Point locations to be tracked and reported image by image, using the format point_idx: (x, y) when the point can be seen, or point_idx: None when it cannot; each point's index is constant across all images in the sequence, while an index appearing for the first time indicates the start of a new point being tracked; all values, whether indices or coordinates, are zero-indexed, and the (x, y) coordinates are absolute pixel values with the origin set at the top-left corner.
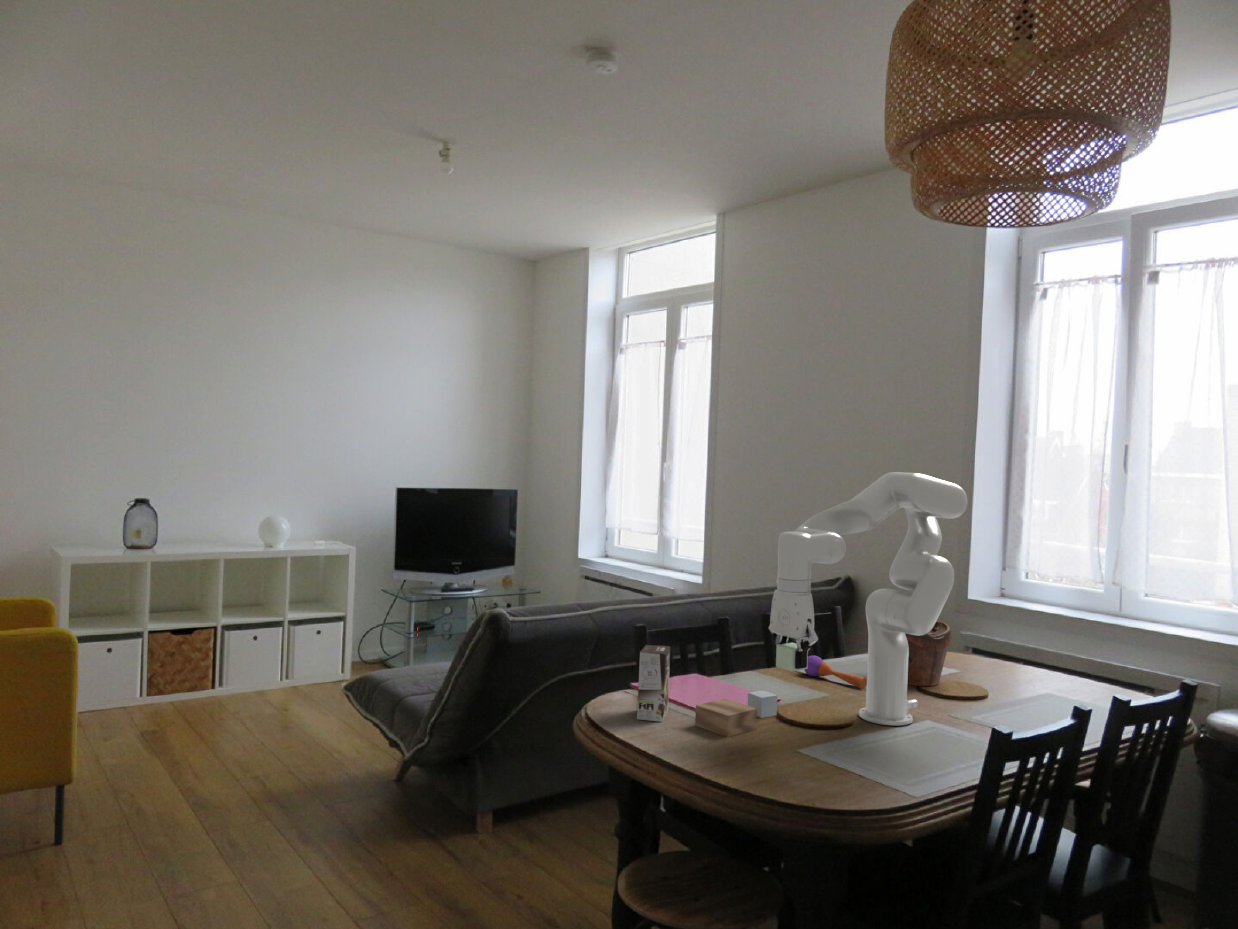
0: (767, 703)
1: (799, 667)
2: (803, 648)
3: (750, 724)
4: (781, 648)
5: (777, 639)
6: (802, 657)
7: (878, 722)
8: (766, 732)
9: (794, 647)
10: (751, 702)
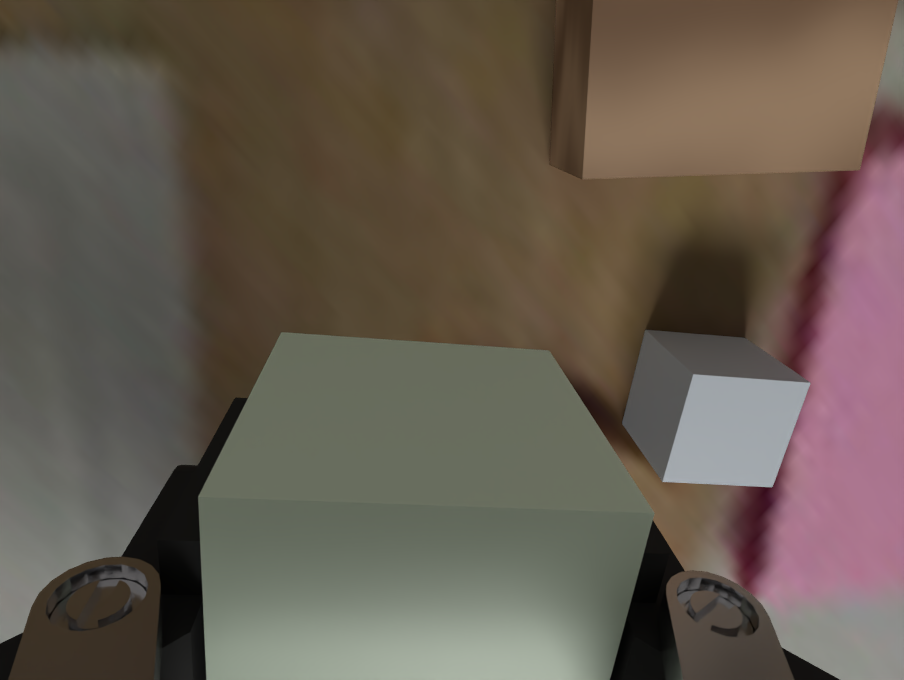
0: (664, 397)
1: None
2: (11, 652)
3: (561, 109)
4: (509, 485)
5: (748, 662)
6: (143, 537)
7: None
8: (477, 166)
9: (302, 634)
10: (751, 359)
